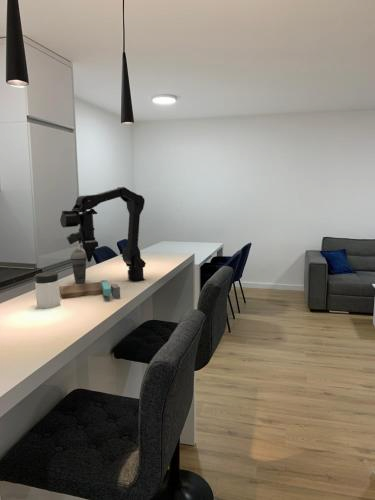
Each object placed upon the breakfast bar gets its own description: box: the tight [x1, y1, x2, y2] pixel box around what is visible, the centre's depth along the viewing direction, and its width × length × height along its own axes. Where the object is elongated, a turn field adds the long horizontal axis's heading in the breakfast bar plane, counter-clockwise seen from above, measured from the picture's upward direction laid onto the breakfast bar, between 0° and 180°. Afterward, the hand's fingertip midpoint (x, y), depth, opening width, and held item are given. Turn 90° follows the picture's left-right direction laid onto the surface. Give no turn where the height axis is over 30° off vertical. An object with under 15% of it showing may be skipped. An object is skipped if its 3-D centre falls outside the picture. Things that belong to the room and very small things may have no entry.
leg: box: [100, 279, 112, 297], centre depth 161 cm, size 16×3×2 cm, turn 17°
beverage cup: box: [70, 242, 87, 285], centre depth 185 cm, size 7×7×20 cm
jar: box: [34, 271, 61, 309], centre depth 150 cm, size 9×8×12 cm
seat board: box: [59, 281, 111, 300], centre depth 169 cm, size 20×14×2 cm
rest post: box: [110, 283, 121, 300], centre depth 159 cm, size 2×6×4 cm, turn 21°
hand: (89, 261), depth 172 cm, fingers closed
